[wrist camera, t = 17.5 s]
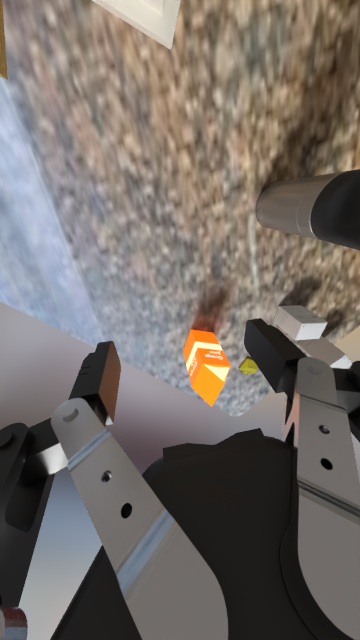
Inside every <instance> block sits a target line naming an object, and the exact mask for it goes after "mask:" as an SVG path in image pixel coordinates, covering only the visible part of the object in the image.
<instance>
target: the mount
mask: <svg viewBox="0 0 360 640" xmlns="http://www.w3.org/2000/svg"><path fill="white" fill-rule="evenodd" d="M92 1H94V2H95V3H97V4H98V5H100V6H102V7H103V8H105V9H106V10H108V11H109V12H111V13H113V14H114V15H116V16H117V17H119V18H121V19H122V20H124V21H125V22H127V23H129V24H130V25H132V26H133V27H135V28H137V29H138V30H140V31H141V32H143V33H144V34H146V35H148V36H149V37H151V38H152V39H154V40H156V41H157V42H159V43H160V44H162V45H164V46H165V47H167V48H168V49H170V50H171V47H172V42H173V37H174V32H175V27H176V22H177V17H178V12H179V7H180V2H181V0H92Z"/></svg>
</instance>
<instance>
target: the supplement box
mask: <svg viewBox="0 0 360 640" xmlns="http://www.w3.org/2000/svg"><path fill="white" fill-rule="evenodd" d="M298 345H299V346H300V347H301V348H302V349H303V350H304V351H305V352H306V353H307V354H308V355H309V356H310V357H312V358H317V359H319V360H322V361H324V362H325V363H327V364H328V365H329V366H330V367H331V368H343V369H347V368H349V367H350V366H351V365H352V362H351V361H350V359H349V358H348V357H347V355H346V354H345V353H343V352H342V351H341V350H340V349H338V348H337V347H335V346H334V345H333V344H332V343H330V342H329V341H328V340H327V339H325V338H324V337H323V336H320V338H319V339H307V340H301V341H300V342H298Z"/></svg>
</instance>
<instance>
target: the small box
mask: <svg viewBox="0 0 360 640" xmlns="http://www.w3.org/2000/svg"><path fill="white" fill-rule="evenodd" d="M274 322H275V323H276V324H277V325H278V326H280V327H281V328H282V329H283V330H284V331H285V332H286V333H287V334H288V335H290V336H291V337H292V338H293V339H294V340H307V339H319V338H320V336H321V334H322V333H323V331H324V329H325V327H326V325H327V323H328V322H326V321H325V320H323V319H322V318H320V317H319V316H317V315H316V314H314V313H313V312H311V311H309V310H308V309H306V308H305V307H303V306H302V305H292V306H279V307H278V310H277V312H276V315H275V318H274Z"/></svg>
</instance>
